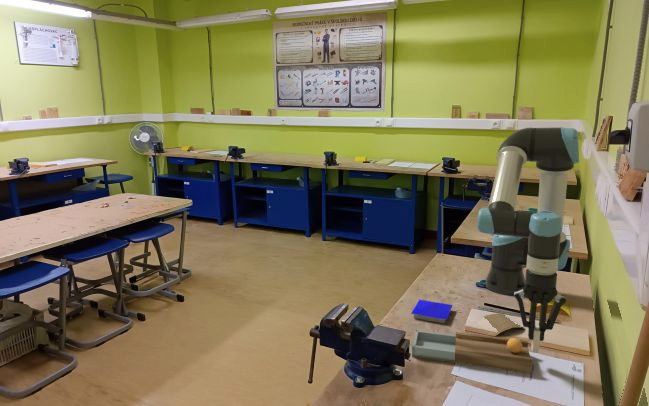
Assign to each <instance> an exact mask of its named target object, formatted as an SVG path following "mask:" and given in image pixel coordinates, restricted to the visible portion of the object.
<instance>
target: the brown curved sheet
mask: <svg viewBox="0 0 649 406" xmlns="http://www.w3.org/2000/svg"><path fill="white" fill-rule="evenodd" d="M505 315H506V314H504V313H500V312H499V313H498V312H497V313H492V314H486V315H485V316H483V317H484V318H485V319H487V320H488V321H489V323H490V324H491V325H492V327H494V328H496V329H497V331H498V332H497V333H496V334H492V337H497V335H499V334H501V333H502V332H505V331H506V330H511V329H513V328H521V327H520V326H521V324H519V323H517V324H515V323H514V322H515V321H514V320H513V321H514V322H513V321H511V320H512V319H511V318H509V317H508V316H507V317H508V318H507V317H505ZM510 319H511V320H510ZM518 324H519V325H518ZM521 329H522V328H521Z"/></svg>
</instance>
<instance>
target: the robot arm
mask: <svg viewBox="0 0 649 406" xmlns="http://www.w3.org/2000/svg"><path fill="white" fill-rule="evenodd" d="M579 146H580V145H579V133H578V130H577V129H576V128H573V127H562V126H561V127H524V128H522V129H519V130H517V131H515V132H513V133H511V134H510V135H509V136H508V137H507V138H506V139H504V140H503V142H502V143H501V145H499V148H498V150H497V154H496V161H497V167H496V171H495V175H494V181H493V183H492V189H491V193H490V197H489V202H488V205H487V207H484V208H482V207H481V208H480V209H479V211H478V214H477V221H476V222H477V223H476V225H477V230H478V232H479V233H482V234H489V235H492V236H493V237H492V243H491V254H492V256H491V264H490V265H491V266H490V269H489V271H488V273H487V276H486V278H485V284H486V286H485V287H486V289H488V290H490V291H491V292H494V293H497V294H501V295H510V296H511V295H512V296H514V298H515V300H516V301H517V303H518V308H519V312H520V318H521V324H522V327H524V328H527V329H528V333H527V336H528V340H530V341H531V346H530V348H531V351H532V352H531V353H536V354H539V351H540V342H543V341H544V339H545V333H546V331H547V330H549V331H552V330H553V329H554V326H555V323H556V321H557V318H558V315H559V313H560V310H561V308H562V307H563V306H564V304H565V303H566V302H567V299H566V297H565V295H563V294H561V293H559V292H558V290H557V280H558V273H557V272H558V270H563V269H564V268H565V267H566V265H567V261H568V257H569V254H570V253H569V252H570V248H571V240H570V239H568V238H567V235H566V233H565V232H564V231H563V228H564V218H565V217H564V216H565V208H566V207H565V206H566V199H567V187H568V179H569V178H568V177H569V172H571V171H572V170H573V169H574V166H575V164H576V165H577V164H579V163H580V149H579V148H580V147H579ZM527 162H531V163H532V162H533V163H536V164H535V167H536V169H537V170H539V171H540V172H539V173H540V174H539V187H538V201H537V202H538V203H537V212H534V211H532V212H531V211H523V210H521V211H520V210H515V209H516V203H517V197H518V193H519V189H520V188H519V187H520V182H521V181H520V180H521V178H522V177H521V176H522V170H523V166H525V164H526V163H527ZM524 266H526V268H527V269H526V270H525V274H524V271H523V270H524ZM485 284H484V285H485ZM524 295H525V296H526V297H527V299H528V301H529V302H530V303H529V304H530V305H529V314H528V315H529V317H528V319H527V313H526V310H525V304H524V301H523V299H524V298H525V296H524ZM553 299H554V303H553V305H552V307H551V310H550V313H549V315H548V318H547V312H548V311H547V310H548V304H549V303H550V302H552V300H553ZM538 304H540V307H539V320H538V322H539V323H538V326H536V319H537V318H536V317H537V307H538Z"/></svg>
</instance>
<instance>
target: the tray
mask: <svg viewBox="0 0 649 406" xmlns="http://www.w3.org/2000/svg"><path fill="white" fill-rule="evenodd" d="M455 343H456V334H449V333H442V332H433V331H425V330H417V329H416V330H415V333H414V338H413V342H412V345H411V348H412V349H411V357H414V358H415V357H416V358H421V359H426V360H427V359H428V360H434V361H439V362H440V361H442V362H448V363H453V364H454V363H455Z"/></svg>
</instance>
